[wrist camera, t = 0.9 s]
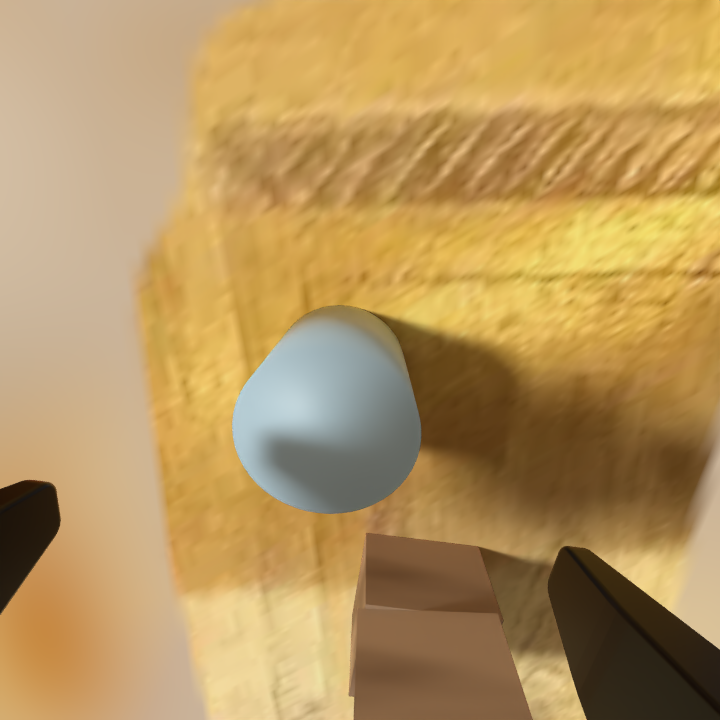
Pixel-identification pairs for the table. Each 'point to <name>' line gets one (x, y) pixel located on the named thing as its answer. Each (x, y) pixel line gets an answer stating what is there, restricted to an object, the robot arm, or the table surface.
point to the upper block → (435, 667)
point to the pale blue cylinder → (330, 414)
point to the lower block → (420, 580)
